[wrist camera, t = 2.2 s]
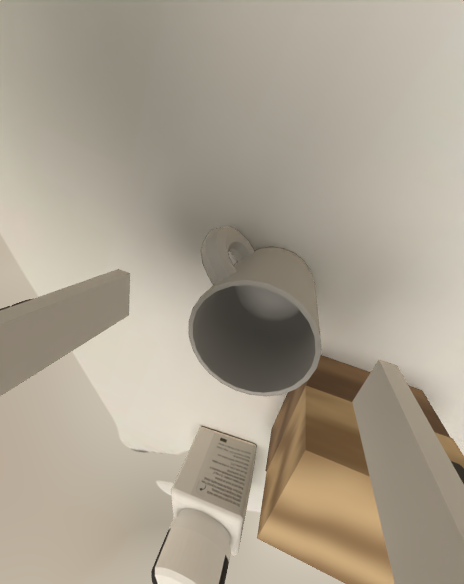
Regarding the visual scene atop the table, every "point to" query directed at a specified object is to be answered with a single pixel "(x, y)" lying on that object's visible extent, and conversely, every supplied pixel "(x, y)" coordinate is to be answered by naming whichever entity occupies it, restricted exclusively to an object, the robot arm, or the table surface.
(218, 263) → the cup
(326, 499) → the slab upper
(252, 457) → the container
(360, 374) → the slab lower
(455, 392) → the table surface
